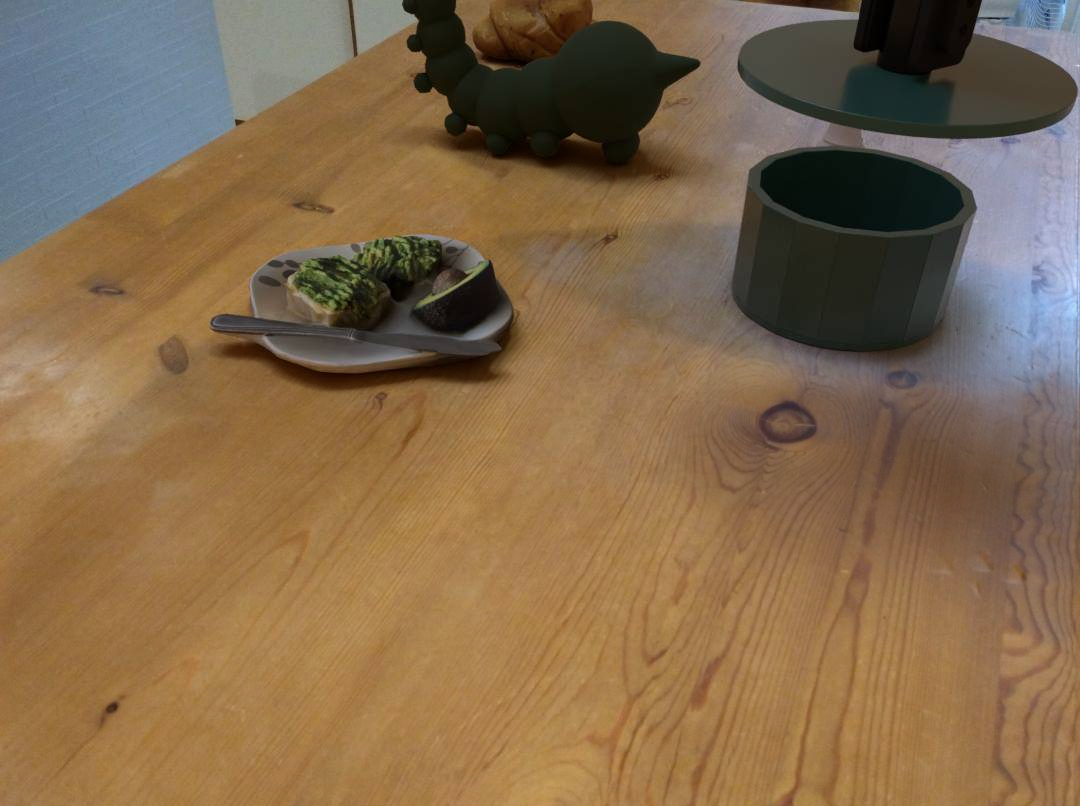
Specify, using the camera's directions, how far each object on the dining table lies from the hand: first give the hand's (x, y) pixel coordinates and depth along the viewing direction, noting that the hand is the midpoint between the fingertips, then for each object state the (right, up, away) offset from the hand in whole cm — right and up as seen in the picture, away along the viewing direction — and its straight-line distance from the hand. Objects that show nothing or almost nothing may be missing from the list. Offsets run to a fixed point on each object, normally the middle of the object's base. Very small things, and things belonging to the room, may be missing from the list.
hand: (907, 53), depth 50 cm
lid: (0, -1, +1) cm, 1 cm away
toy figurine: (-17, +12, +45) cm, 49 cm away
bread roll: (-18, +29, +65) cm, 73 cm away
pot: (+4, -6, +25) cm, 26 cm away
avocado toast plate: (-27, -8, +22) cm, 36 cm away
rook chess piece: (+9, +10, +44) cm, 45 cm away
